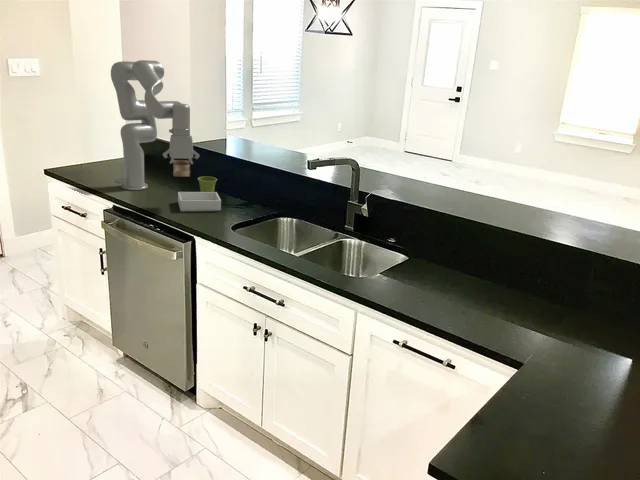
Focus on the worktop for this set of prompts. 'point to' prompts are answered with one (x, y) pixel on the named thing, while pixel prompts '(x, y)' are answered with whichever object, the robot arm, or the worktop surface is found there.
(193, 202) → the box
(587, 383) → the worktop surface
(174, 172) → the small crate
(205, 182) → the plant pot
